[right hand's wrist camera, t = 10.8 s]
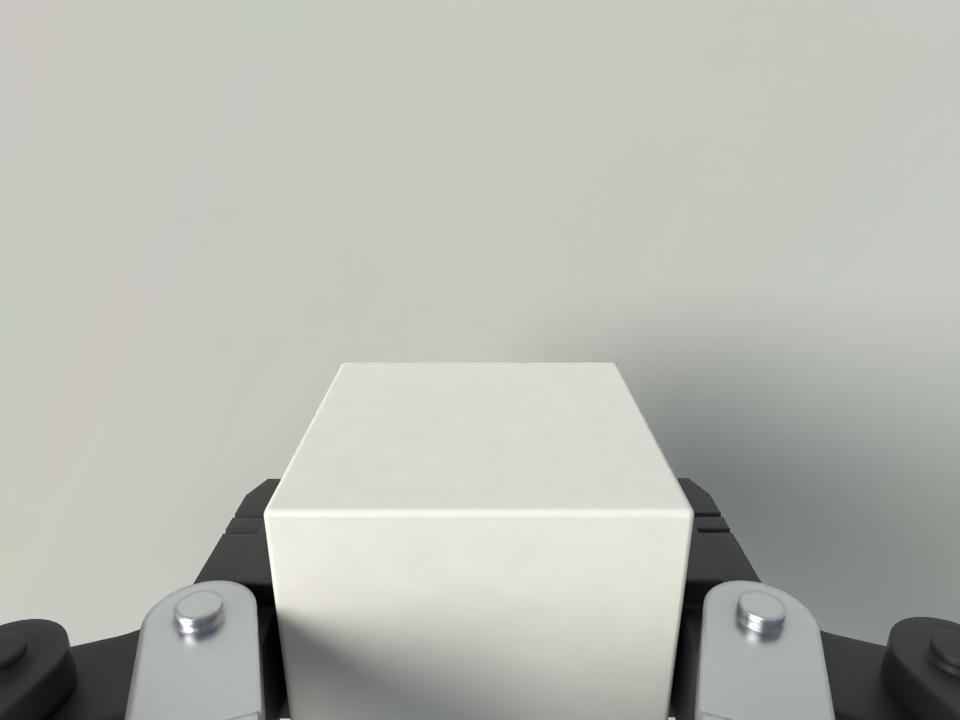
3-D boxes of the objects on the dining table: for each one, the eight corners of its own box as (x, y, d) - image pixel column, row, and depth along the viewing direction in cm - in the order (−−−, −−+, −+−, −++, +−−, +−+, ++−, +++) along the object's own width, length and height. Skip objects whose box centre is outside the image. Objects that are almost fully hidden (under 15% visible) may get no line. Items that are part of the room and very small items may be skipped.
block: (360, 606, 13) (304, 843, 9) (341, 360, 12) (260, 511, 7) (598, 606, 13) (654, 843, 9) (616, 360, 12) (697, 511, 7)
